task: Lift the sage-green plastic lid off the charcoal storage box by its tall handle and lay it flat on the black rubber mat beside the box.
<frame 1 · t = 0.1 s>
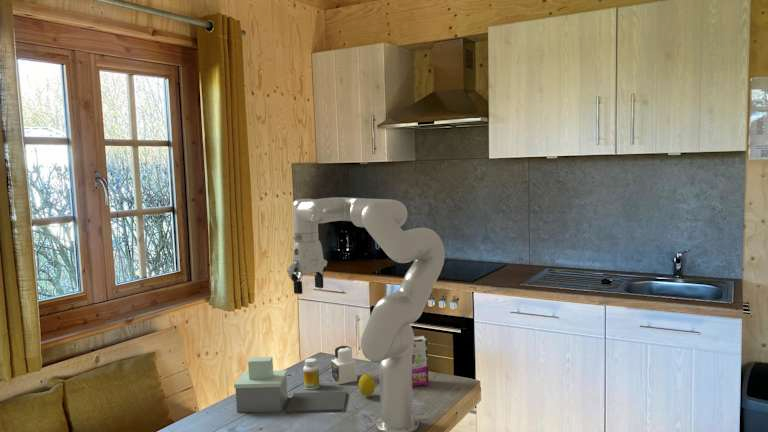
hand: (309, 290, 185), 37 cm above the table, tool pointing down, fingers open, 9 cm apart
candy bar box: (411, 384, 201), on the table
mat: (317, 403, 188), on the table
storage box: (262, 404, 188), on the table
lid: (261, 380, 188), point 8 cm above the table, touching storage box
supplement bottle: (311, 387, 202), on the table
lemon: (367, 397, 191), on the table
medicine bottle: (344, 380, 208), on the table
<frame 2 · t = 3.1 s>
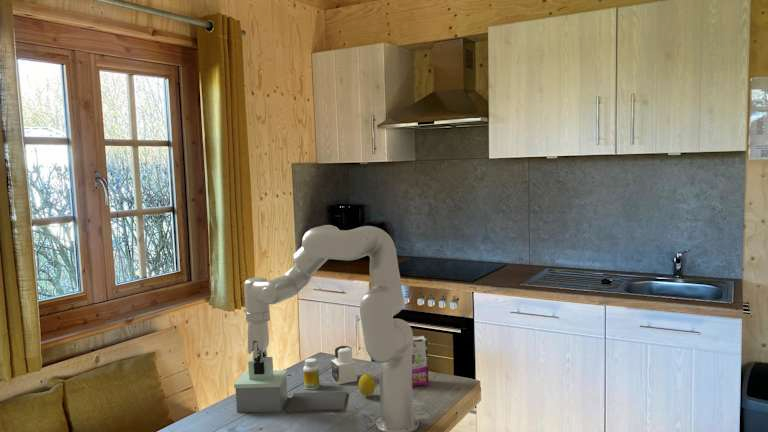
hand: (261, 370, 187), 11 cm above the table, tool pointing down, fingers closed on lid, 4 cm apart
lid: (261, 380, 188), point 8 cm above the table, touching gripper, storage box
everything else where it was.
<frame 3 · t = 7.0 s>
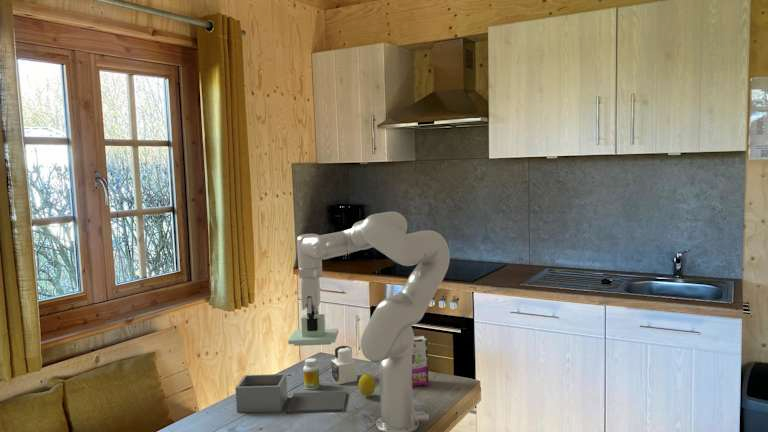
hand: (313, 328, 186), 25 cm above the table, tool pointing down, fingers closed on lid, 4 cm apart
lid: (314, 338, 186), point 22 cm above the table, touching gripper
everything else where it was.
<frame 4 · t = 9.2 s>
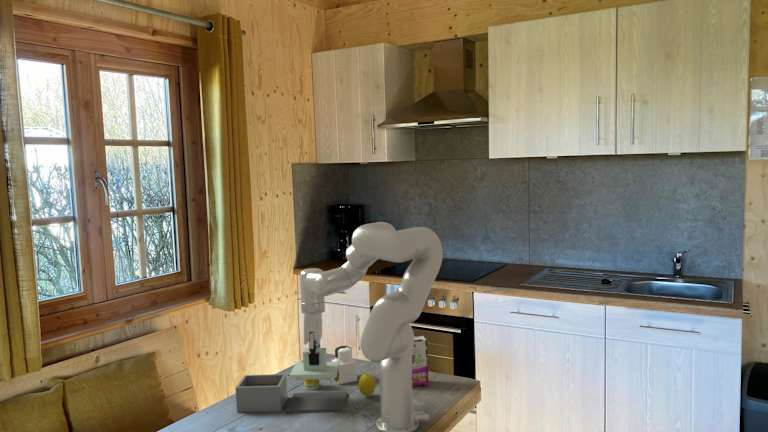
hand: (315, 361, 187), 14 cm above the table, tool pointing down, fingers closed on lid, 4 cm apart
lid: (315, 371, 187), point 10 cm above the table, touching gripper
everything else where it was.
when the fingers open (7 cm above the table, at t = 10.9 s): lid drops 2 cm, resting on mat.
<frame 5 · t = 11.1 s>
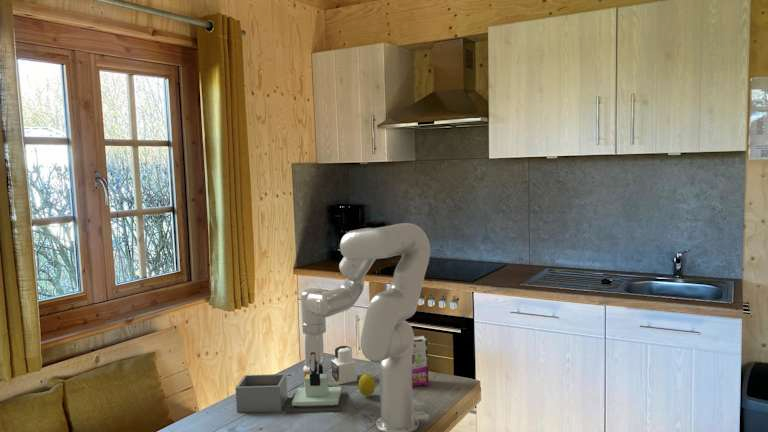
hand: (316, 381, 187), 7 cm above the table, tool pointing down, fingers open, 6 cm apart
lid: (317, 397, 188), point 2 cm above the table, touching mat
everything else where it was.
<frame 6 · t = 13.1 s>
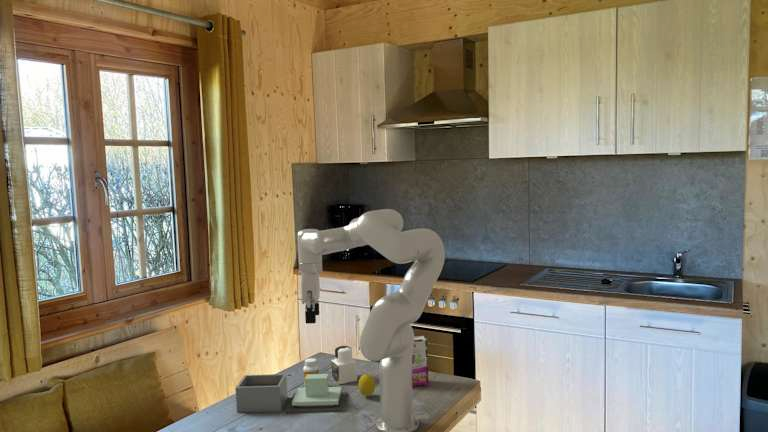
hand: (312, 319, 188), 27 cm above the table, tool pointing down, fingers open, 9 cm apart
nothing on the table moved.
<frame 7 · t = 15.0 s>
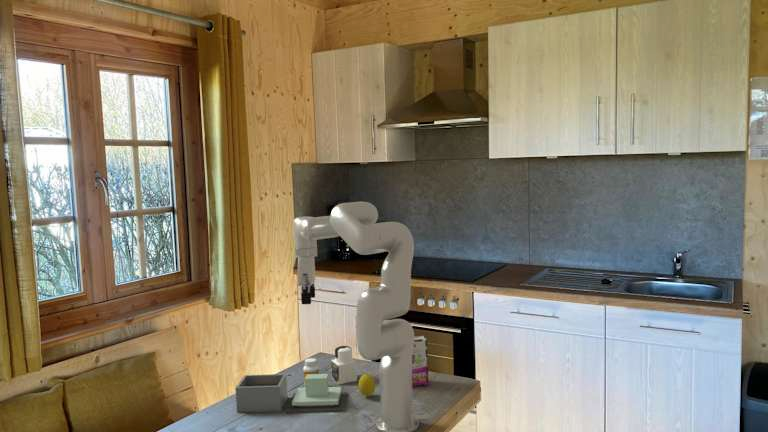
hand: (308, 300, 201), 30 cm above the table, tool pointing down, fingers open, 9 cm apart
nothing on the table moved.
at the end: lid 0.0 cm off-centre on the mat, point 1.8 cm above the mat's base; lid tilted 0°; lid touching mat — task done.
